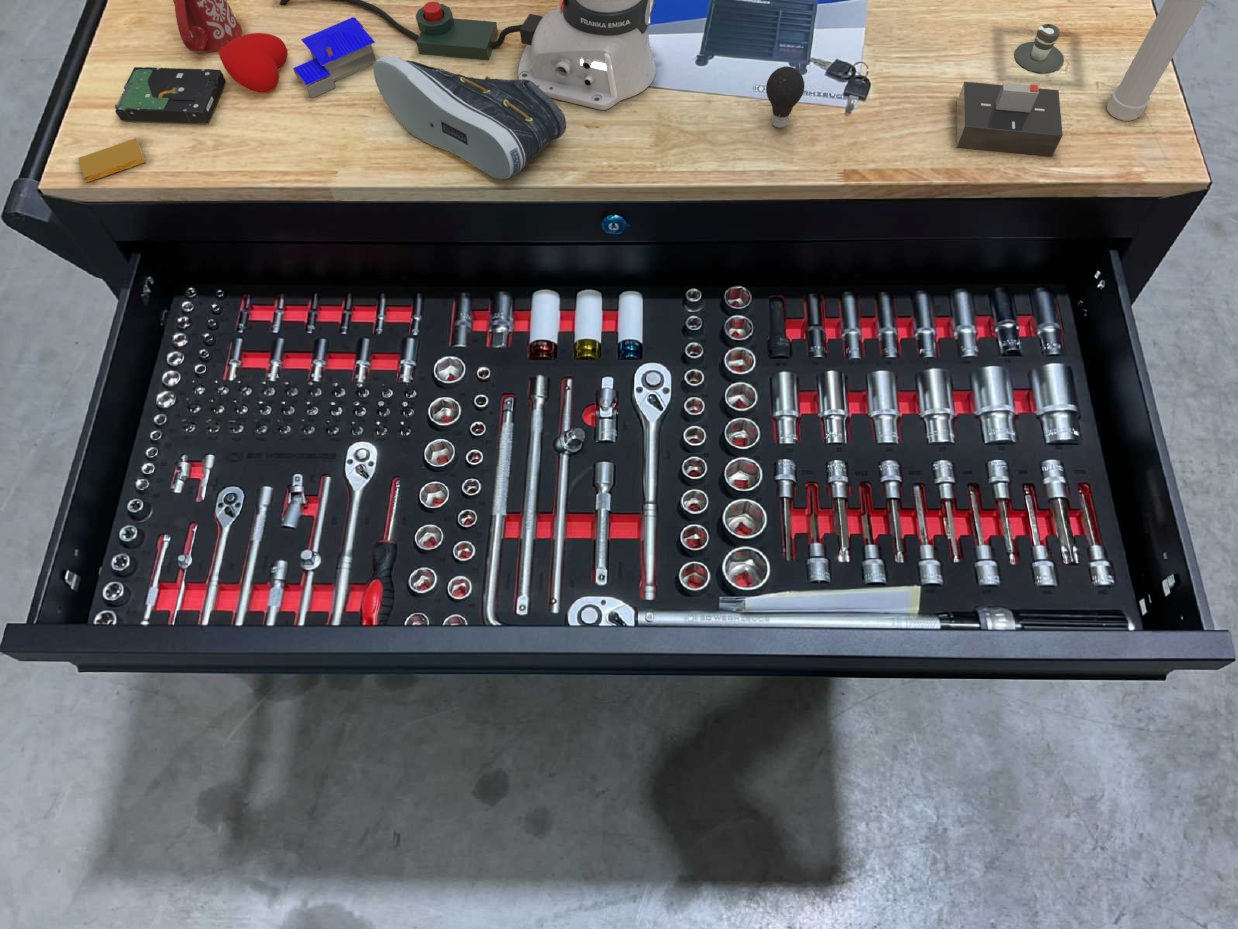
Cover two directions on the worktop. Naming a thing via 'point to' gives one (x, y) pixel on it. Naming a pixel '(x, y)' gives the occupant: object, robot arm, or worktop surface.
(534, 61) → the robot arm
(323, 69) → the house
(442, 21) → the button box
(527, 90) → the boat shoe
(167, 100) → the disk drive
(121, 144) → the golden brown flat block
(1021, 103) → the grey switch knob
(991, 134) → the lever switch box
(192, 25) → the mug
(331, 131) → the worktop surface
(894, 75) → the worktop surface
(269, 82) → the heart
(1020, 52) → the grey disc with post
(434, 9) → the button
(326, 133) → the worktop surface
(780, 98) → the light bulb
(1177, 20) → the pipe
